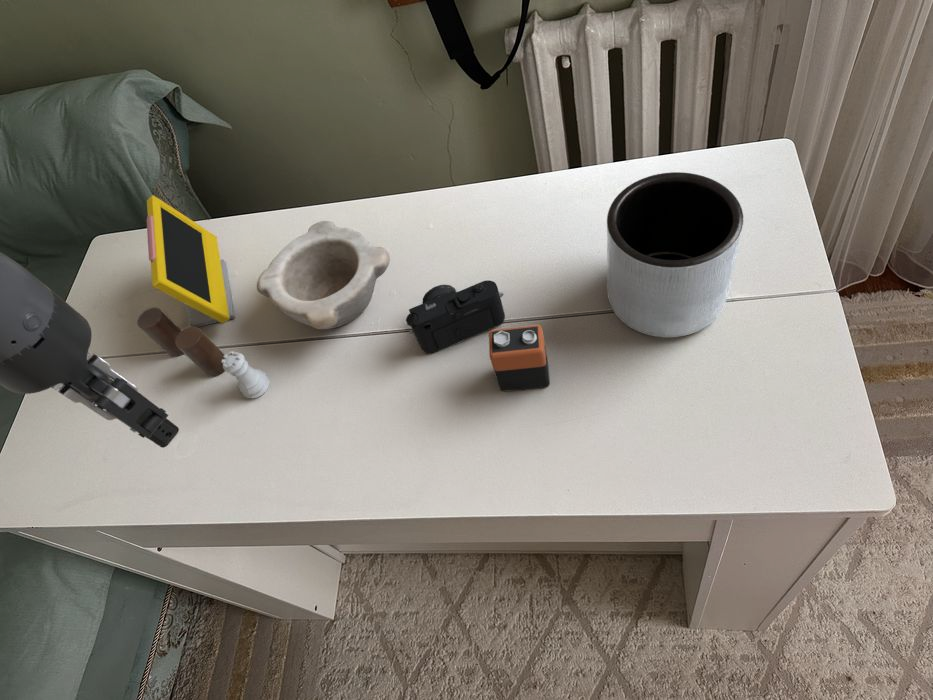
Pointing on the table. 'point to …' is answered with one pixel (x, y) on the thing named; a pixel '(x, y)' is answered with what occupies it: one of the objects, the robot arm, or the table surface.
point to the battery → (519, 357)
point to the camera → (455, 315)
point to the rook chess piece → (246, 375)
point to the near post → (201, 350)
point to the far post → (160, 330)
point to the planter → (671, 252)
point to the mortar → (324, 276)
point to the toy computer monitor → (188, 264)
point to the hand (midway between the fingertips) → (141, 419)
